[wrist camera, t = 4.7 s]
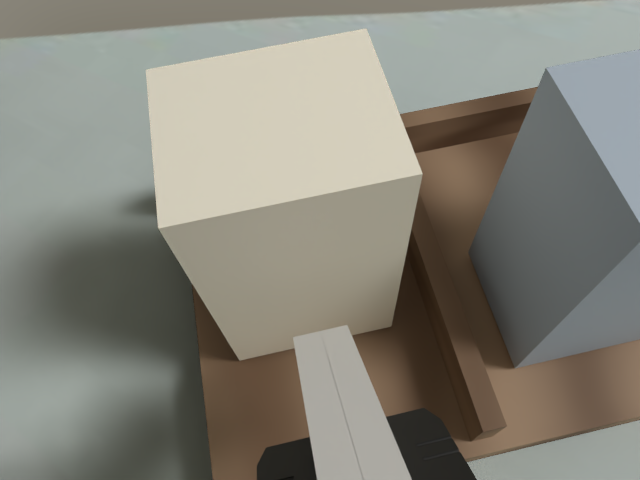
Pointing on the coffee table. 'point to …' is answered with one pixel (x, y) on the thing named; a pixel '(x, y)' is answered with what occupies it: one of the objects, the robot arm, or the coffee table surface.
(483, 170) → the wooden compartment tray
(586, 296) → the light blue block
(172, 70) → the cream rectangular block
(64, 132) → the coffee table surface
